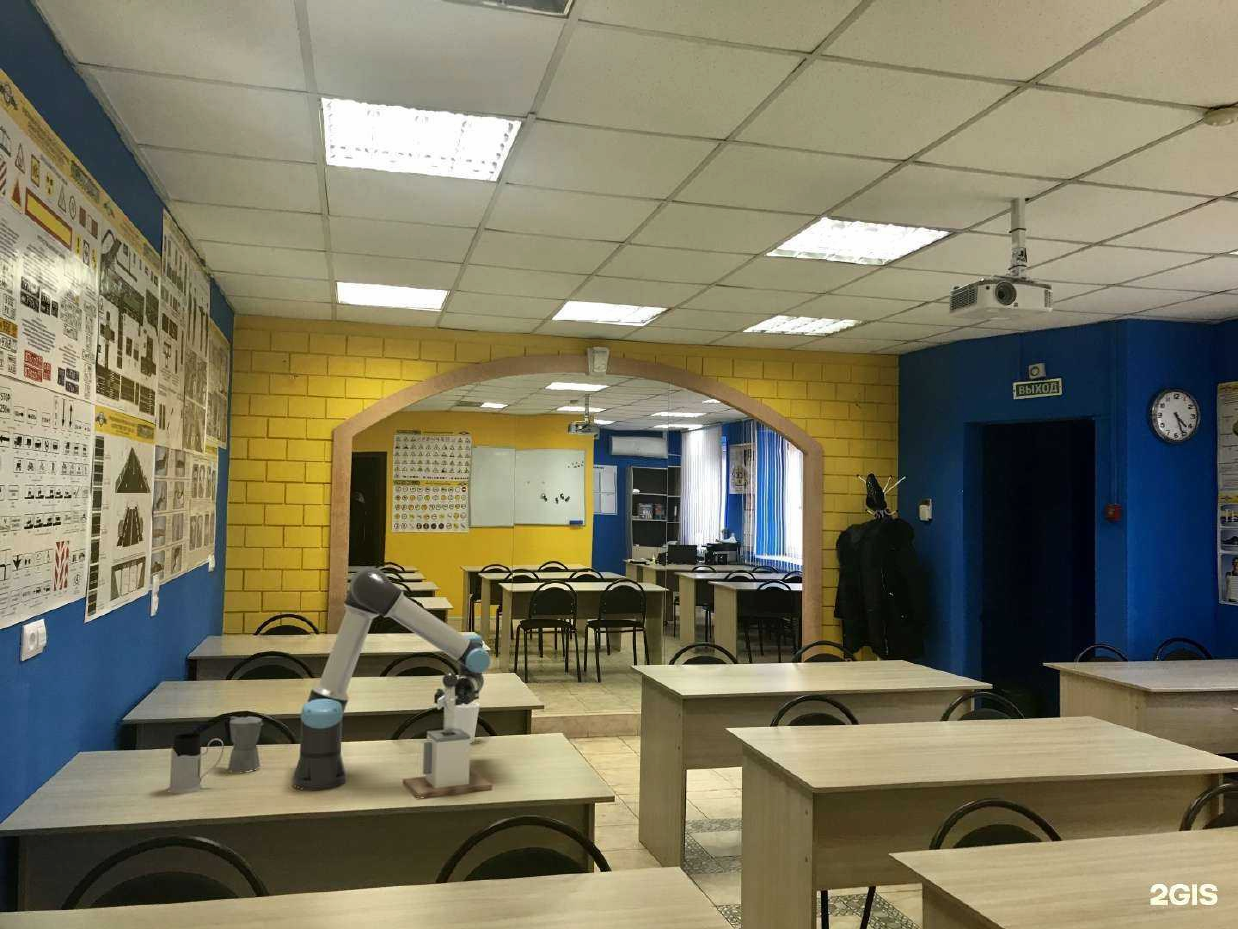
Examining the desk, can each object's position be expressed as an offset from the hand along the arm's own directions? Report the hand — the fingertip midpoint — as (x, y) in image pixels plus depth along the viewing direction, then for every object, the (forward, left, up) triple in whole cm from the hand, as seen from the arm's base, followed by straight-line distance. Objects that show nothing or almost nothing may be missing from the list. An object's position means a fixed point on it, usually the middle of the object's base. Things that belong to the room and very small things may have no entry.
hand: (445, 704), depth 267 cm
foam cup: (+25, +54, -25) cm, 64 cm away
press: (+2, +5, -23) cm, 24 cm away
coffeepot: (-49, +49, -25) cm, 74 cm away
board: (+3, +5, -25) cm, 26 cm away
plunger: (+3, +5, -18) cm, 19 cm away
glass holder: (-63, +33, -25) cm, 76 cm away
